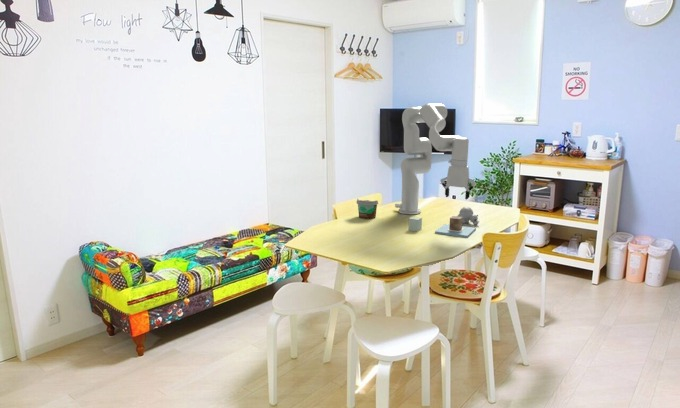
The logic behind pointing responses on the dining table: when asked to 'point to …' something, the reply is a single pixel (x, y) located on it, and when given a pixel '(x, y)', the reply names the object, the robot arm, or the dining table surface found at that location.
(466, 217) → the chubby cartoon animal
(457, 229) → the walnut block
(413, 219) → the sage block
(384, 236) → the dining table surface
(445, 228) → the build board
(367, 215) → the food container
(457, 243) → the dining table surface
